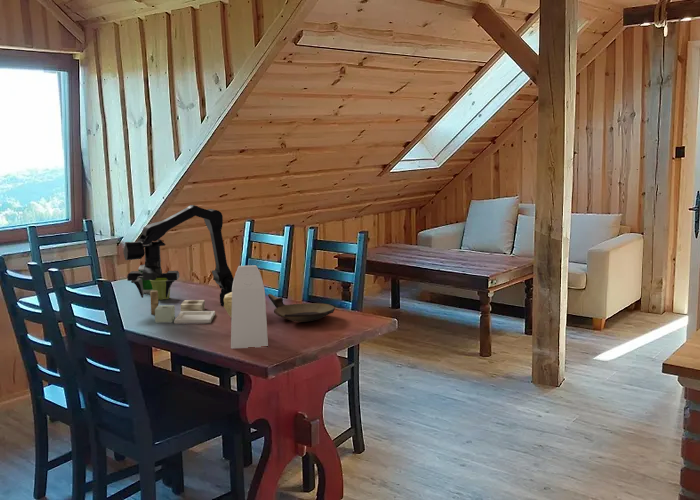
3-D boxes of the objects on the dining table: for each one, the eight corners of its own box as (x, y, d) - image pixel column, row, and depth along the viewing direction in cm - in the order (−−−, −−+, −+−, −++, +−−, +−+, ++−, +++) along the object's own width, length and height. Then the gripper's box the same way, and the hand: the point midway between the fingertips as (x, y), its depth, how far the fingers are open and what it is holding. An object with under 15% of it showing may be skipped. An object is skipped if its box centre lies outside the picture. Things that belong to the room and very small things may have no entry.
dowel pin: (159, 313, 270) (158, 290, 268) (157, 314, 267) (156, 292, 266) (152, 313, 270) (151, 290, 268) (150, 314, 267) (149, 292, 266)
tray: (215, 314, 267) (214, 310, 267) (210, 323, 254) (210, 319, 254) (181, 315, 267) (180, 311, 266) (174, 323, 254) (174, 319, 253)
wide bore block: (204, 308, 277) (204, 300, 277) (201, 313, 269) (201, 304, 269) (184, 308, 277) (184, 300, 276) (181, 313, 269) (180, 304, 268)
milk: (266, 337, 237) (265, 262, 233) (268, 346, 226) (266, 268, 222) (231, 338, 235) (229, 263, 231) (230, 348, 224) (228, 269, 220)
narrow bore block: (174, 318, 262) (174, 305, 261) (171, 322, 256) (171, 309, 255) (158, 318, 262) (158, 305, 261) (155, 322, 256) (154, 309, 255)
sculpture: (220, 320, 260) (219, 292, 258) (235, 312, 271) (234, 285, 269) (247, 322, 256) (247, 294, 254) (261, 314, 267) (261, 287, 266)
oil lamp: (292, 332, 243) (292, 310, 242) (258, 314, 269) (257, 295, 268) (347, 323, 255) (347, 303, 254) (309, 307, 280) (309, 288, 279)
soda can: (154, 293, 304) (153, 266, 303) (137, 293, 305) (135, 266, 303) (159, 290, 312) (157, 263, 310) (142, 289, 312) (141, 263, 310)
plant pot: (167, 301, 289) (166, 281, 288) (146, 300, 291) (145, 280, 290) (177, 296, 298) (176, 277, 297) (156, 295, 300) (156, 276, 299)
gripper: (122, 261, 257) (124, 302, 259) (173, 261, 258) (174, 302, 260) (130, 256, 268) (132, 296, 270) (178, 256, 269) (180, 295, 271)
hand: (154, 297), depth 267 cm, fingers open, 9 cm apart
